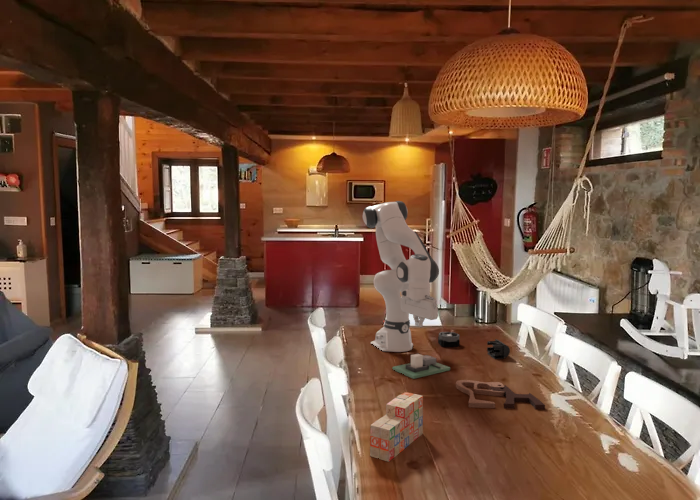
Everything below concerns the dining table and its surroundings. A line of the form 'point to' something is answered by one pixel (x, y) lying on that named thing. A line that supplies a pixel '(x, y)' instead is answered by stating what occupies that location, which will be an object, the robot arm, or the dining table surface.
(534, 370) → the dining table surface
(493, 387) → the wood carving
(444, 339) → the cpu cooler
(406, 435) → the stack of blocks
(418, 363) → the plug
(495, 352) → the end cap
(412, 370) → the circuit board
